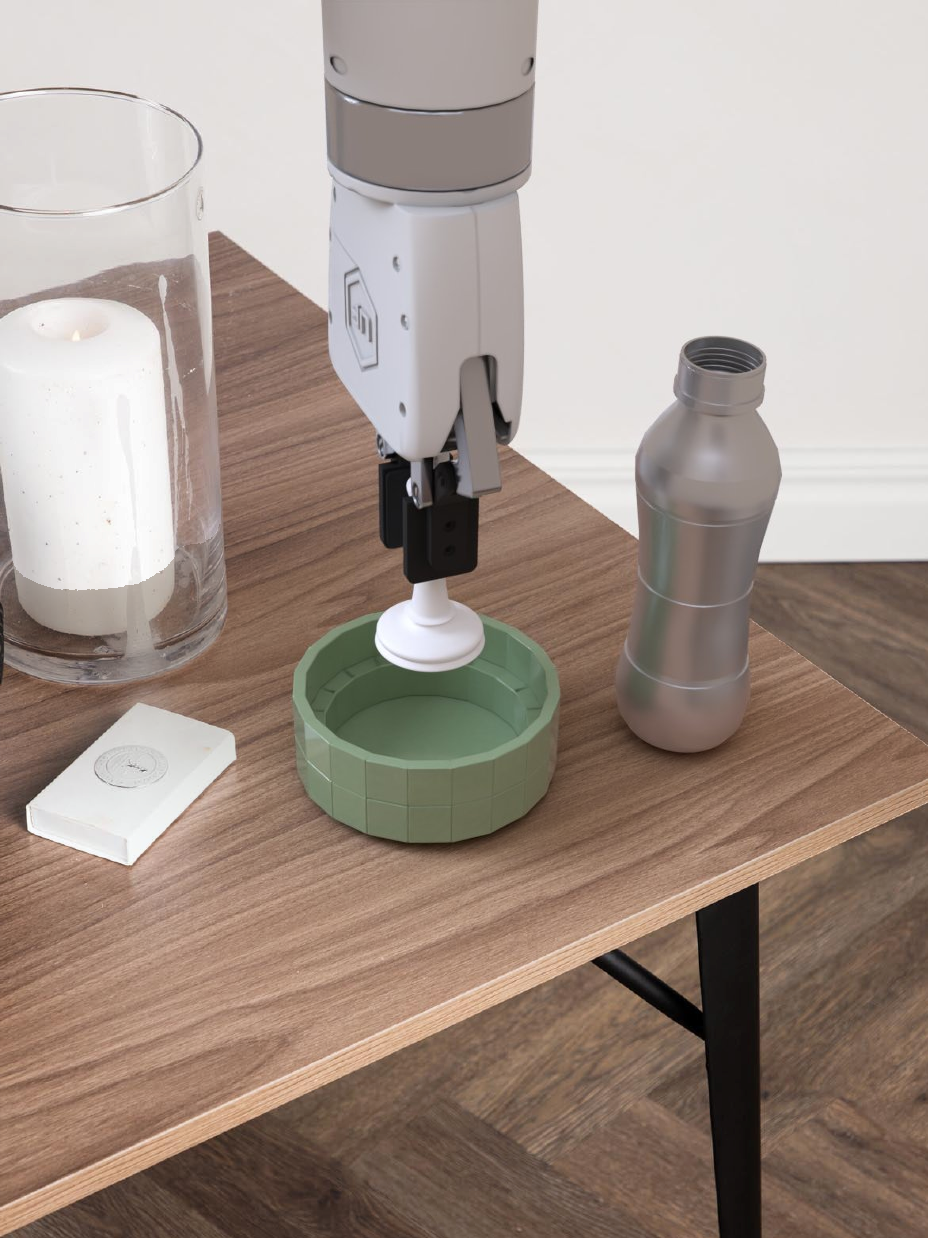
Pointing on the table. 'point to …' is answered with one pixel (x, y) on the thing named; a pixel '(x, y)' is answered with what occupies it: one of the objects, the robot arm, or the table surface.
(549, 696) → the bowl
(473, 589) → the table surface
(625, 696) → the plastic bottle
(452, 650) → the chess piece
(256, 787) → the table surface
